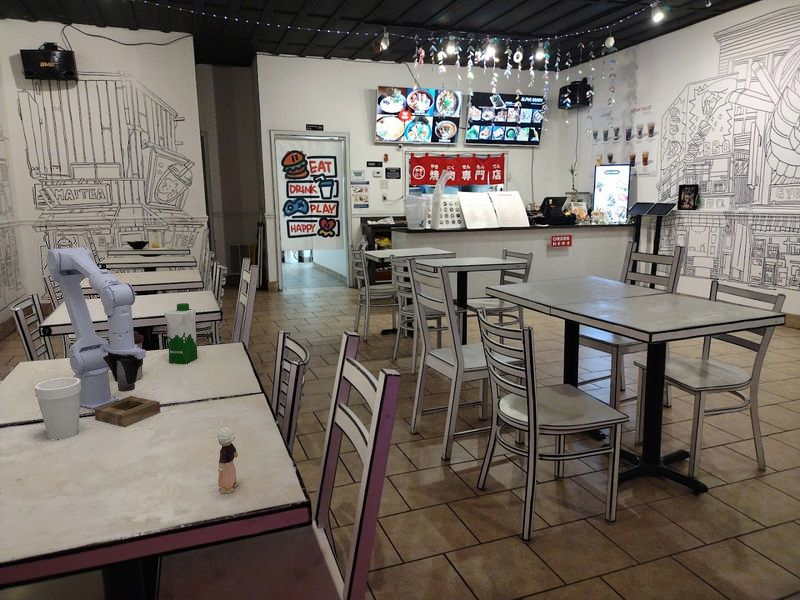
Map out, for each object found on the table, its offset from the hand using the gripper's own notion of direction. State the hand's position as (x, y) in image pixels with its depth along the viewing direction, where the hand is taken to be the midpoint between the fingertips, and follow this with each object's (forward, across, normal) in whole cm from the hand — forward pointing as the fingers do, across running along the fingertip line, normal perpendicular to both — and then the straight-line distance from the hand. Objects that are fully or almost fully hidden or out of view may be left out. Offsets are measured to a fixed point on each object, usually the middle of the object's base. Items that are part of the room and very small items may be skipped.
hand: (125, 381), depth 148 cm
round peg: (+2, 0, 0) cm, 2 cm away
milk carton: (+10, +26, -44) cm, 52 cm away
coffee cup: (+10, +26, -22) cm, 36 cm away
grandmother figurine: (+10, -50, +18) cm, 54 cm away
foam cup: (+10, +4, +15) cm, 18 cm away
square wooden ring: (+9, 0, 0) cm, 9 cm away
